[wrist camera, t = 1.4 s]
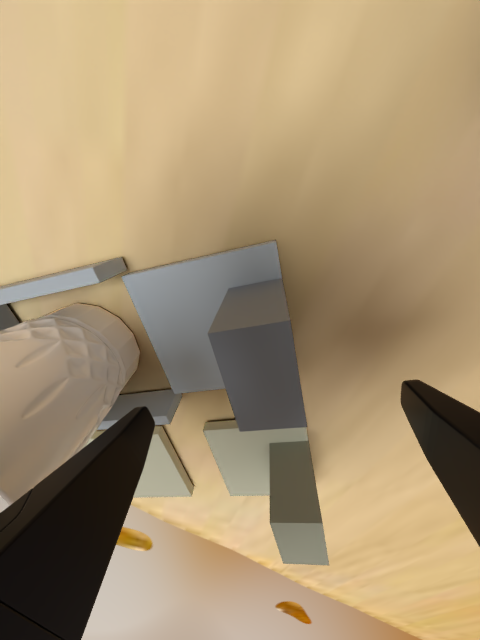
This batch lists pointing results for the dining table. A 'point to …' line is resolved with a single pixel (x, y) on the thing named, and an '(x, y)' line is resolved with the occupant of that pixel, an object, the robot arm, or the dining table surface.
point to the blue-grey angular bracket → (203, 332)
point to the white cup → (57, 389)
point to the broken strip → (251, 480)
